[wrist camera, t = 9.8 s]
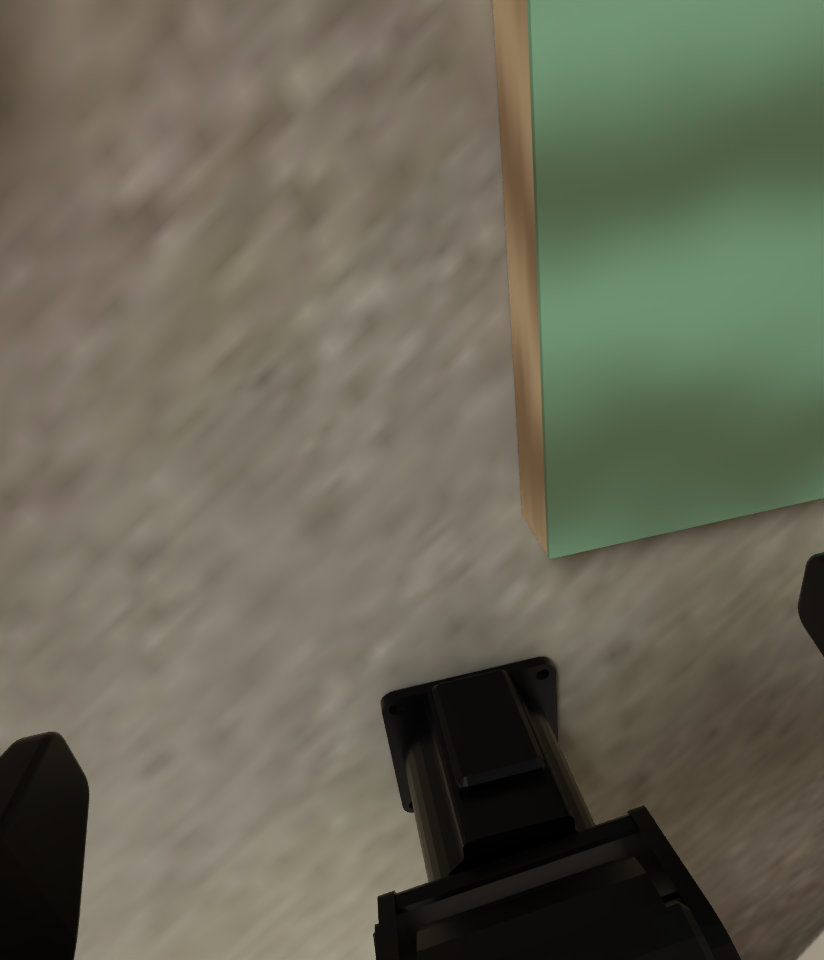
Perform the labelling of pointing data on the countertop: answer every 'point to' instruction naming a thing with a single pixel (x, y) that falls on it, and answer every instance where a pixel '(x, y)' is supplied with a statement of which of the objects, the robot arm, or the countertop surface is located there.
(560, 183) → the board
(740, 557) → the countertop surface
